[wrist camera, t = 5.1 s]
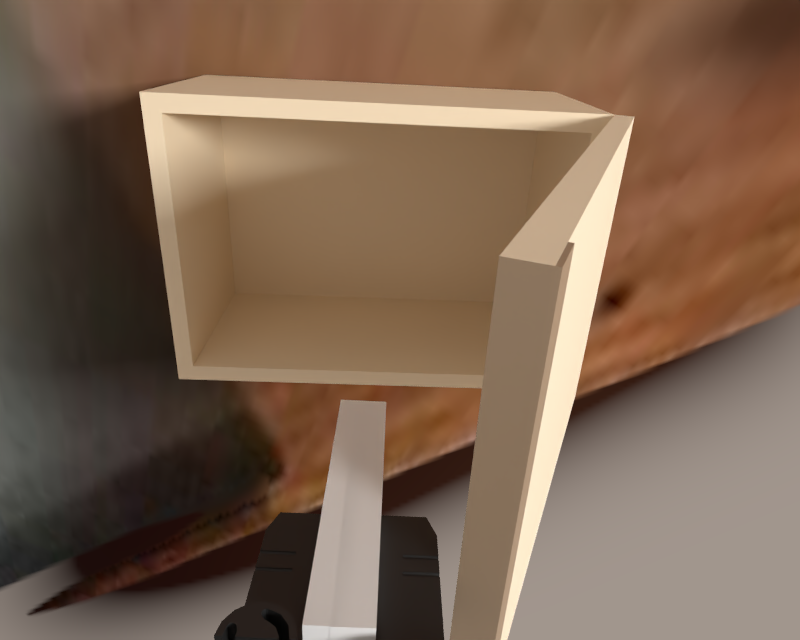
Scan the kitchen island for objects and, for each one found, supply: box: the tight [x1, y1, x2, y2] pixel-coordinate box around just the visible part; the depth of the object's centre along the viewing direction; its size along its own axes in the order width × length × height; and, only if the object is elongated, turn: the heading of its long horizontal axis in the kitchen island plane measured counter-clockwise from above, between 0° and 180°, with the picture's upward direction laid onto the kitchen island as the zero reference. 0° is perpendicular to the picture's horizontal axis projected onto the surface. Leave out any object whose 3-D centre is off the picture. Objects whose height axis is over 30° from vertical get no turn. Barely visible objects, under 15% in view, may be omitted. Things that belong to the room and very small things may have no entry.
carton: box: [139, 75, 614, 388], centre depth 32 cm, size 20×14×10 cm
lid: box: [450, 115, 634, 640], centre depth 20 cm, size 20×14×1 cm
